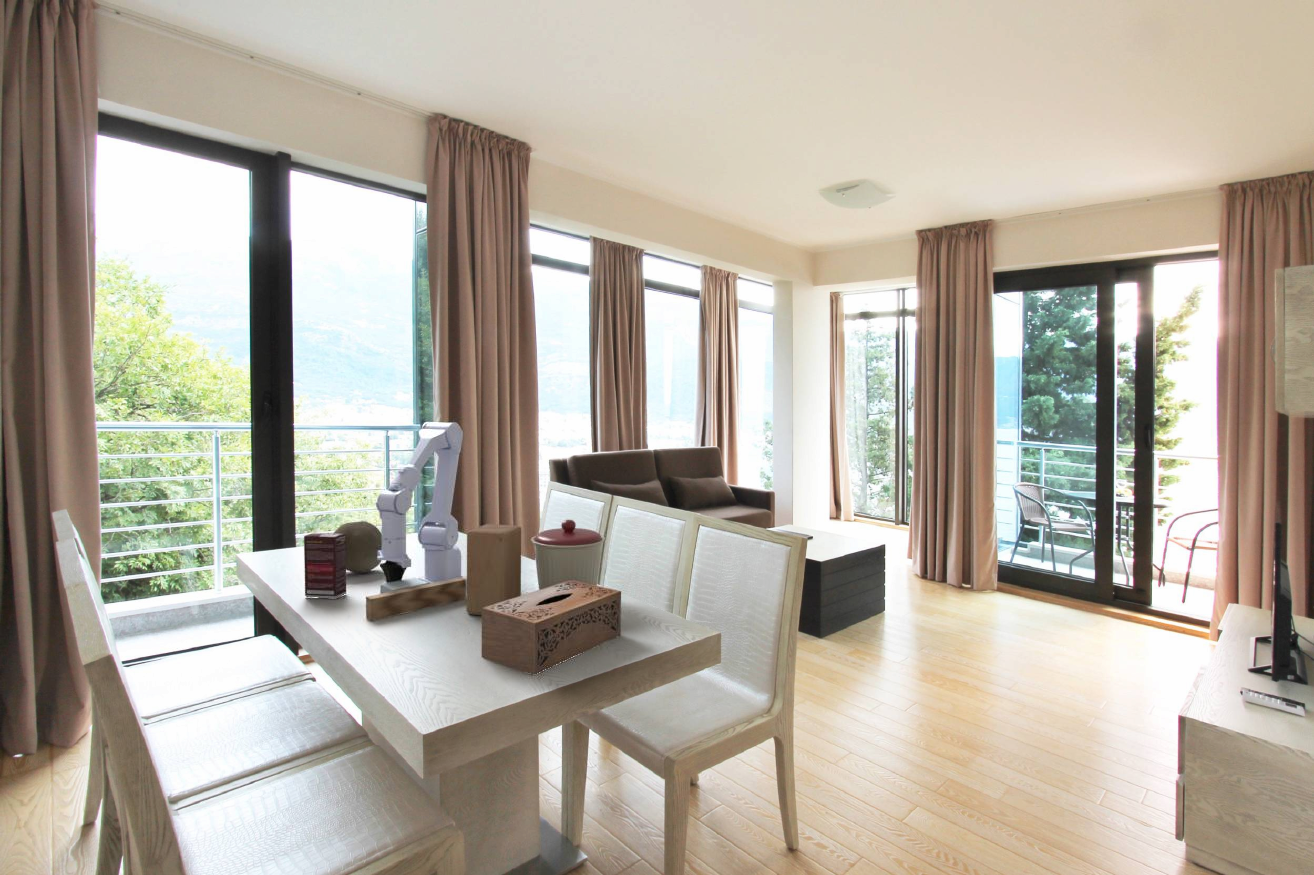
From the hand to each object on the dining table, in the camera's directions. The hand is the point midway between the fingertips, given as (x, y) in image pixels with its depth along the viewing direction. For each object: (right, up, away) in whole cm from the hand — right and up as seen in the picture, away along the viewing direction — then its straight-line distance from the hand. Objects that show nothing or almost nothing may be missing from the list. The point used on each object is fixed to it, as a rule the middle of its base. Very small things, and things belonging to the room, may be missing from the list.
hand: (394, 590), depth 163 cm
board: (+9, -2, -9) cm, 13 cm away
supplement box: (-17, -2, 0) cm, 17 cm away
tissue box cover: (+46, -4, -31) cm, 55 cm away
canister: (+45, -3, -3) cm, 45 cm away
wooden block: (+28, -3, -9) cm, 29 cm away
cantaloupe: (-19, 0, +22) cm, 29 cm away
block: (+4, -2, -3) cm, 5 cm away
